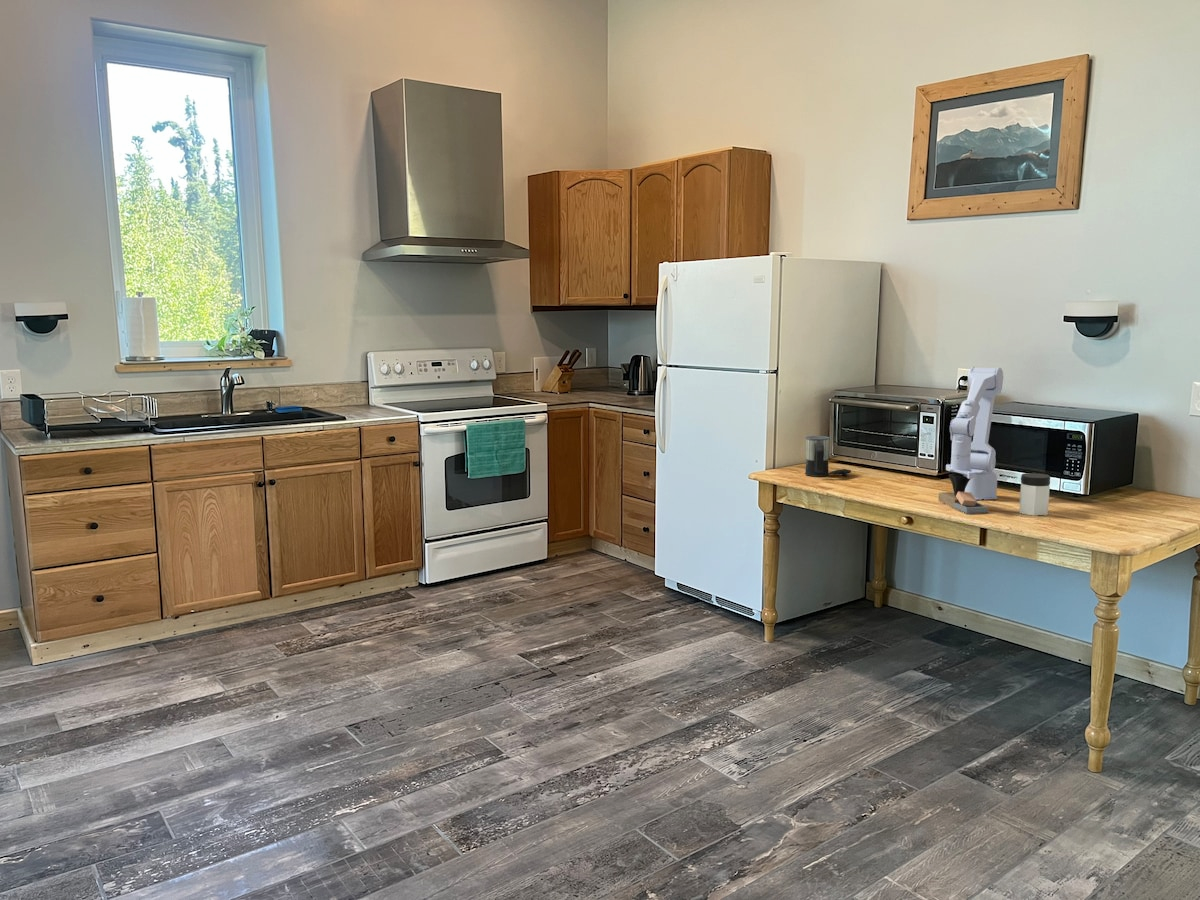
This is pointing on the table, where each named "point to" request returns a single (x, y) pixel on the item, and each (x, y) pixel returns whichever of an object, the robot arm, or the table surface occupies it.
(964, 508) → the tray
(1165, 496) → the table surface
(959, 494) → the peach flat square block
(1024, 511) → the jar
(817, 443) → the milk frother
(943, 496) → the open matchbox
